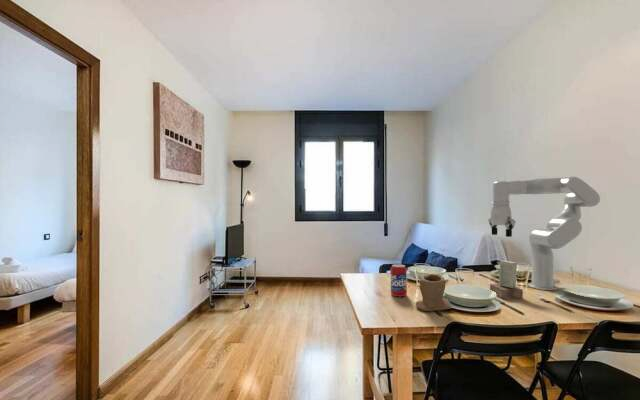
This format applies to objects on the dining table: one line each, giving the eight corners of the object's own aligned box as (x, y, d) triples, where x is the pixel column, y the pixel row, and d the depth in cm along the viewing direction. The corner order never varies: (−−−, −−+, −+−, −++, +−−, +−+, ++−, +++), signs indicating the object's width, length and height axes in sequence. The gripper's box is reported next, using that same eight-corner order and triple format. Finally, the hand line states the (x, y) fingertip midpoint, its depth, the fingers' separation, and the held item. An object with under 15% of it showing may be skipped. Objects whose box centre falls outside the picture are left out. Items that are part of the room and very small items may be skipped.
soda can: (405, 293, 155) (405, 263, 155) (408, 297, 147) (407, 267, 147) (389, 292, 156) (389, 263, 156) (391, 297, 148) (391, 266, 148)
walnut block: (509, 293, 154) (509, 283, 154) (522, 300, 144) (522, 289, 144) (490, 293, 154) (490, 284, 154) (501, 300, 144) (501, 289, 144)
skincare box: (515, 287, 148) (517, 262, 148) (512, 288, 145) (514, 263, 145) (501, 283, 153) (503, 259, 153) (497, 284, 150) (499, 260, 150)
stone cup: (424, 315, 125) (424, 279, 125) (412, 305, 136) (412, 272, 136) (458, 313, 126) (458, 277, 126) (444, 304, 138) (443, 271, 138)
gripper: (483, 204, 171) (483, 234, 171) (508, 204, 154) (508, 237, 154) (494, 204, 173) (495, 233, 172) (520, 204, 156) (521, 237, 155)
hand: (501, 235), depth 163 cm, fingers open, 9 cm apart
